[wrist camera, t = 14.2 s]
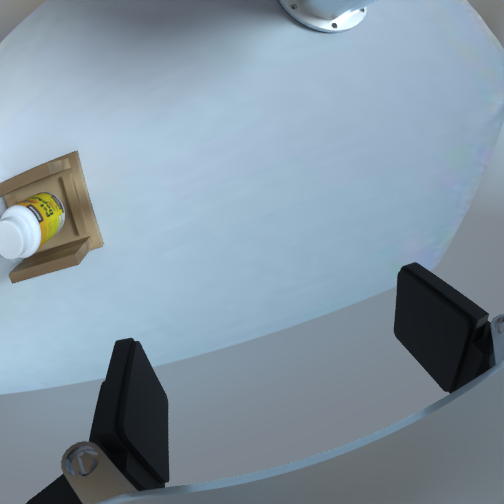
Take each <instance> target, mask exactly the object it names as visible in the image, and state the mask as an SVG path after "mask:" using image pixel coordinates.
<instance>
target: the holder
mask: <svg viewBox="0 0 504 504" xmlns="http://www.w3.org/2000/svg"><path fill="white" fill-rule="evenodd" d="M41 192H49V193H52V194H54V195H55V196H57V197H58V198H59V199H60V201H61V202H62V204H63V207H64V210H65V220H64V224H63V226H62V228H61V230H60V231H59V232H58V233H57V234H56V235H54V236H53V237H52V238H51V239H50V240H48V241H47V242H46V243H45V244H44V245H43V246H42V247H40V248H39V249H38V250H37V251H36V252H35V253H34V254H33V255H31V256H29V257H27V258H24V260H23V261H22V262H21V263H20V264H19V265H18V266H17V267H16V268H15V269H14V270H12V271H11V272H10V273H9V274H8V275H9V277H10V279H11V282H12V284H13V283H16V282H20V281H23V280H26V279H30V278H33V277H37V276H40V275H44V274H47V273H51V272H54V271H58V270H61V269H65V268H68V267H72V266H76V265H79V264H80V262H81V261H82V260H83V258H84V257H85V256H86V254H87V253H88V252H89V251H90V250H93V249H97V248H100V247H102V246H103V245H104V242H103V239H102V236H101V233H100V230H99V227H98V224H97V221H96V217H95V214H94V211H93V207H92V204H91V201H90V197H89V194H88V190H87V186H86V182H85V179H84V175H83V171H82V167H81V163H80V159H79V154H78V151H74V152H72V153H69V154H66V155H64V156H61V157H59V158H56V159H54V160H51V161H49V162H46V163H44V164H42V165H39V166H37V167H35V168H32V169H30V170H28V171H25V172H23V173H21V174H19V175H17V176H15V177H12V178H10V179H8V180H6V181H4V182H2V183H0V197H1V196H4V200H5V203H6V207H7V209H8V208H9V207H11V206H13V205H15V204H17V203H19V202H21V201H23V200H25V199H27V198H29V197H32V196H34V195H36V194H38V193H41Z"/></svg>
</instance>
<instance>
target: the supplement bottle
mask: <svg viewBox="0 0 504 504" xmlns="http://www.w3.org/2000/svg"><path fill="white" fill-rule="evenodd" d="M64 220H65V210H64V207H63V204H62V202H61V201H60V199H59V198H58V197H57V196H55V195H54V194H52V193H49V192H41V193H38V194H36V195H34V196H32V197H29V198H27V199H25V200H23V201H21V202H19V203H17V204H15V205H13V206H11V207H9V208H8V209H6V210H5V211H4V213H3V214H2V216H1V218H0V255H1V256H3V257H4V258H6V259H10V260H13V259H16V258H27V257H29V256H31V255H33V254H34V253H35V252H36V251H37V250H38V249H39V248H40V247H42V246H43V245H44V244H45V243H46V242H47V241H48V240H50V239H51V238H52V237H53V236H54V235H56V234H57V233H58V232H59V231H60V230H61V228H62V226H63V224H64Z"/></svg>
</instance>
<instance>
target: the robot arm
mask: <svg viewBox="0 0 504 504" xmlns="http://www.w3.org/2000/svg"><path fill="white" fill-rule="evenodd" d="M279 1H280V3H281V5H282V6H283V7H284V9H285V10H286V11H287V12H288V13H289V14H290V15H291V16H292V17H293V18H295V19H296V20H297V21H299V22H300V23H302V24H304V25H306V26H308V27H310V28H312V29H315V30H318V31H323V32H329V33H338V32H344V31H347V30H350V29H352V28H354V27H356V26H357V25H358V24H359V23H361V21H362V20H363V19H364V17H365V15H366V13H367V7H368V5H370V4H371V3H373V2H375V1H377V0H279ZM503 1H504V0H503ZM292 8H293V9H292ZM488 316H489V314H488V313H487V312H486V311H484V310H483V309H482V308H480V307H479V306H478V305H476V304H475V303H474V302H472V301H471V300H469V299H468V298H467V297H465V296H464V295H463V294H461V293H460V292H459V291H457V290H456V289H454V288H453V287H452V286H450V285H449V284H447V283H446V282H444V281H443V280H442V279H440V278H439V277H437V276H436V275H434V274H433V273H431V272H430V271H428V270H427V269H425V268H424V267H423V266H421V265H420V264H418V263H416V262H415V263H411V264H408V265H405V266H403V267H401V270H400V272H399V273H398V277H397V296H396V310H395V322H394V334H395V336H396V338H397V339H398V340H399V341H400V342H401V343H402V344H403V345H404V347H405V348H406V349H407V350H408V351H409V352H410V353H411V354H412V355H413V357H414V358H415V359H416V360H417V361H418V362H419V363H420V364H421V365H422V367H423V368H424V369H425V370H426V371H427V372H428V373H429V374H430V376H431V377H432V378H433V379H434V380H435V381H436V382H437V384H439V386H440V387H441V388H442V389H443V390H444V391H445V392H449V393H450V395H448V396H446V397H444V398H443V399H441V400H439V401H437V402H436V403H434V404H432V405H430V406H428V407H427V408H425V409H423V410H421V411H419V412H417V413H415V414H413V415H411V416H409V417H407V418H405V419H403V420H401V421H399V422H397V423H395V424H393V425H390V426H388V427H386V428H384V429H382V430H380V431H377V432H375V433H373V434H370V435H368V436H366V437H363V438H361V439H358V440H356V441H353V442H351V443H348V444H345V445H343V446H340V447H338V448H335V449H332V450H329V451H326V452H323V453H320V454H318V455H314V456H312V457H308V458H305V459H302V460H299V461H295V462H292V463H288V464H285V465H281V466H278V467H274V468H270V469H266V470H263V471H258V472H254V473H249V474H245V475H240V476H235V477H230V478H225V479H219V480H215V481H208V482H202V483H196V484H190V485H182V486H173V487H167V488H165V483H166V482H169V454H168V453H169V451H168V399H167V396H166V393H165V391H164V390H163V388H162V386H161V384H160V382H159V380H158V378H157V376H156V374H155V372H154V370H153V368H152V366H151V364H150V362H149V360H148V358H147V356H146V354H145V352H144V350H143V348H142V345H141V344H140V342H139V341H134V339H133V338H127V339H122V340H117V341H116V342H115V345H114V349H113V352H112V356H111V360H110V364H109V368H108V371H107V375H106V380H105V381H104V382H103V383H102V385H101V389H100V392H99V396H98V401H97V405H96V409H95V414H94V418H93V423H92V428H91V433H90V438H89V442H87V441H83V442H78V443H76V444H74V445H72V446H71V447H70V448H68V449H67V450H66V452H65V453H64V455H63V457H62V460H61V468H62V471H63V474H62V475H61V476H60V477H59V478H57V479H56V480H55V481H54V482H52V483H51V484H50V485H49V486H47V487H46V488H45V489H43V490H42V491H41V492H40V493H38V494H37V495H36V496H34V497H33V498H32V499H30V500H29V501H28V502H27V503H26V504H504V314H500V315H497V316H495V317H494V318H493V319H492V321H491V323H490V322H489V321H488Z"/></svg>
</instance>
